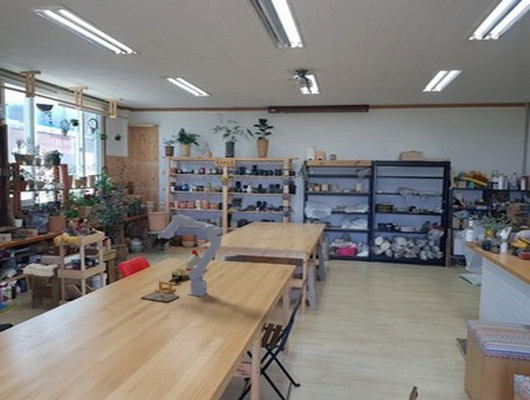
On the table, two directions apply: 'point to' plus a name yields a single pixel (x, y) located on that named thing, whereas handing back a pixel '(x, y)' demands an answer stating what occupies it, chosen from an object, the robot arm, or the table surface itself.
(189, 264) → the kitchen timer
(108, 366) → the table surface
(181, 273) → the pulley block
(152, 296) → the walnut board
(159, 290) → the link
